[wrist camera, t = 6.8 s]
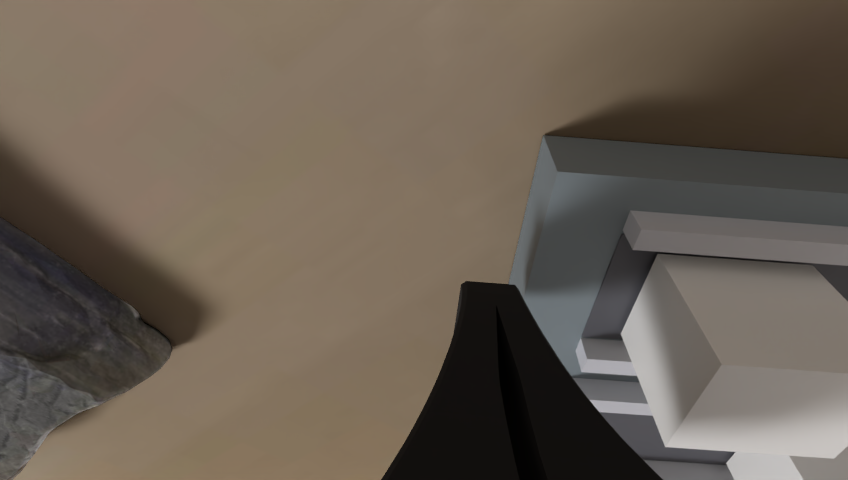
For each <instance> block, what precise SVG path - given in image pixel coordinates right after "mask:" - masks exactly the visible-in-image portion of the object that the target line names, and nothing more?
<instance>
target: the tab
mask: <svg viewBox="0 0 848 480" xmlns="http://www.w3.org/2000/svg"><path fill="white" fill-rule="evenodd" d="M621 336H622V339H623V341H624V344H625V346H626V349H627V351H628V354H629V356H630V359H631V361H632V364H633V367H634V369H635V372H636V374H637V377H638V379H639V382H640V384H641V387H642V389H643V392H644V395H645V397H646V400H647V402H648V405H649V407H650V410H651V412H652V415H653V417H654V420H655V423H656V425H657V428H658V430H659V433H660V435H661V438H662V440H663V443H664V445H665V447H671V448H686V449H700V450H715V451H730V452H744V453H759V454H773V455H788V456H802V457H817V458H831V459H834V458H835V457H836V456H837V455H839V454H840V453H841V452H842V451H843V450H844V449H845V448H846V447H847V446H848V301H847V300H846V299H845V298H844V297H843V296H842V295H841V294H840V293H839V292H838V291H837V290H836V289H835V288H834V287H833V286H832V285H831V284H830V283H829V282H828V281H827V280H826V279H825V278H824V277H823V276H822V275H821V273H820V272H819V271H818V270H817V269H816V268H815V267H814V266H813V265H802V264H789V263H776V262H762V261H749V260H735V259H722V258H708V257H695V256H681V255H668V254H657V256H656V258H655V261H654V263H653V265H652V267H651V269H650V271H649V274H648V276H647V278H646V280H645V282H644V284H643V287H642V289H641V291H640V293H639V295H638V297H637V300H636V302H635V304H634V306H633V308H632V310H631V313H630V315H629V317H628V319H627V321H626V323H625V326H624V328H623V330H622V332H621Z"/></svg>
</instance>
